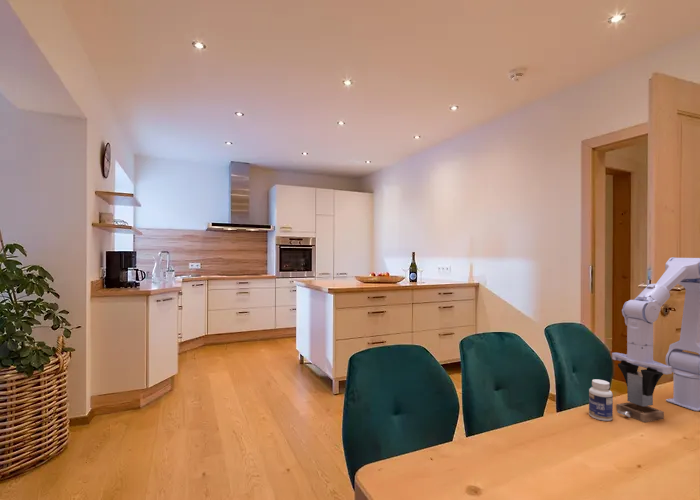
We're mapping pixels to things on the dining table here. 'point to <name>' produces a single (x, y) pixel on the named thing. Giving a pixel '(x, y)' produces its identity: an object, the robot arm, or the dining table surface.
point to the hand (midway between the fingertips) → (639, 392)
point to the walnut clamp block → (646, 416)
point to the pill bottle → (600, 400)
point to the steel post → (637, 390)
